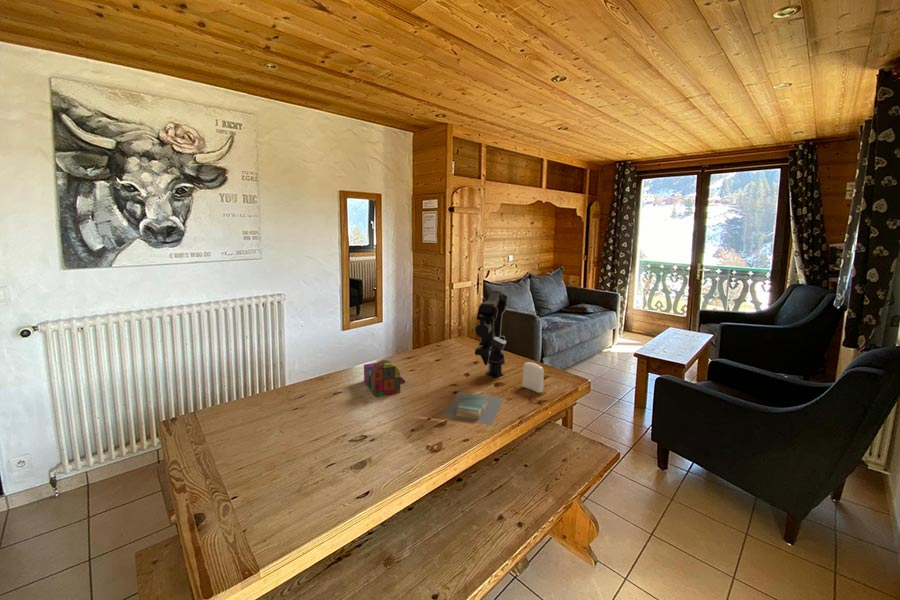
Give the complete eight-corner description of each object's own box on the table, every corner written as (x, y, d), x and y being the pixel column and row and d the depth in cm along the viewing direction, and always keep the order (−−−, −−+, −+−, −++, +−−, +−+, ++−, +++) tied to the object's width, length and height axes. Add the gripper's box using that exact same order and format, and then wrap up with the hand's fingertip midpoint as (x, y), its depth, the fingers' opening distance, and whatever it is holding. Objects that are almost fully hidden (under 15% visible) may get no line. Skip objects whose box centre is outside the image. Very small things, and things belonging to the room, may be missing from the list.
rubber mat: (459, 393, 181) (459, 391, 180) (503, 400, 174) (503, 398, 174) (441, 418, 158) (441, 416, 158) (491, 426, 152) (491, 424, 152)
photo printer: (520, 386, 189) (522, 361, 187) (526, 384, 192) (528, 359, 189) (538, 394, 181) (539, 367, 179) (544, 391, 184) (546, 365, 182)
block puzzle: (411, 390, 183) (411, 361, 181) (374, 397, 176) (374, 366, 173) (394, 372, 206) (394, 345, 203) (361, 377, 198) (360, 349, 196)
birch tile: (466, 393, 171) (456, 407, 158) (487, 396, 168) (479, 411, 155) (466, 400, 172) (456, 415, 159) (487, 404, 169) (478, 419, 156)
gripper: (500, 338, 168) (499, 374, 171) (509, 327, 186) (507, 360, 189) (474, 336, 172) (474, 371, 175) (485, 325, 189) (484, 357, 192)
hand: (486, 364), depth 183 cm, fingers closed
